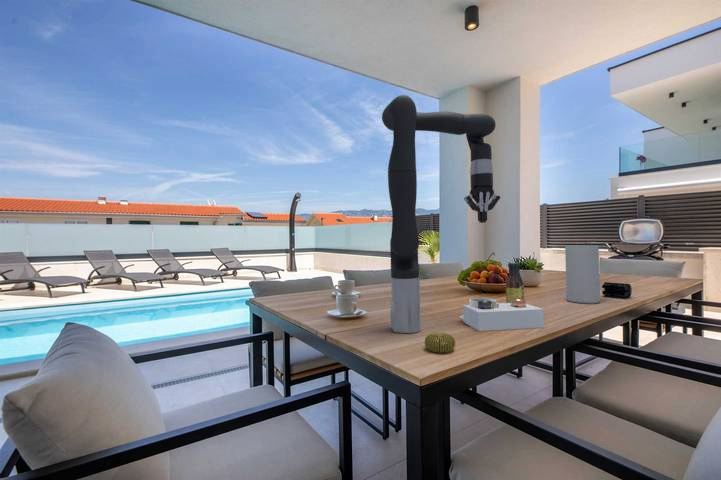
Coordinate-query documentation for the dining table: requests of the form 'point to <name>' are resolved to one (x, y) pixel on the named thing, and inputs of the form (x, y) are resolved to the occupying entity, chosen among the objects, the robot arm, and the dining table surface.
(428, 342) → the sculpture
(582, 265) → the cylinder vase
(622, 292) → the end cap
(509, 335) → the dining table surface
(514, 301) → the knob right
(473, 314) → the mount
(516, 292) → the sauce bottle
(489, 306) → the knob left
